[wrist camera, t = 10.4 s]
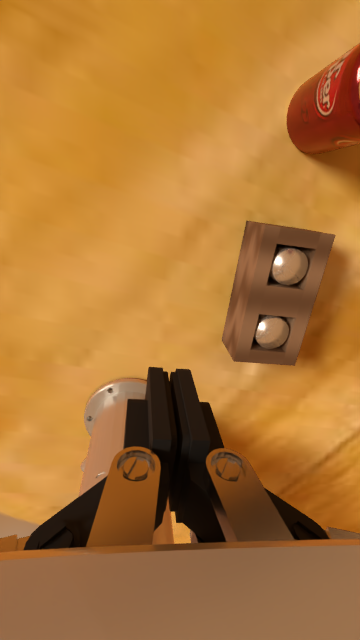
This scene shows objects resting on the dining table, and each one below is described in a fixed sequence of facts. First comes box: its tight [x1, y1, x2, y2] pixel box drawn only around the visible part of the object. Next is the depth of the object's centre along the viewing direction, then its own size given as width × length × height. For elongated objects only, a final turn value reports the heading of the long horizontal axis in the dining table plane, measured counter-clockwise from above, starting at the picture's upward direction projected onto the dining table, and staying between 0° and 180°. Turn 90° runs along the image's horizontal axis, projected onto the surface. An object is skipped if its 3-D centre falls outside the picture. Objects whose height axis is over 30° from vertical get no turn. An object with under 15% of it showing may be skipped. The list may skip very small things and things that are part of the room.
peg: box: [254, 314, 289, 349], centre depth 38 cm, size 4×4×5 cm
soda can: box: [287, 43, 360, 154], centre depth 28 cm, size 7×7×12 cm
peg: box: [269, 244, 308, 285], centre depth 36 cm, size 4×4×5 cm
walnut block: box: [222, 221, 335, 366], centre depth 37 cm, size 16×8×6 cm, turn 172°
